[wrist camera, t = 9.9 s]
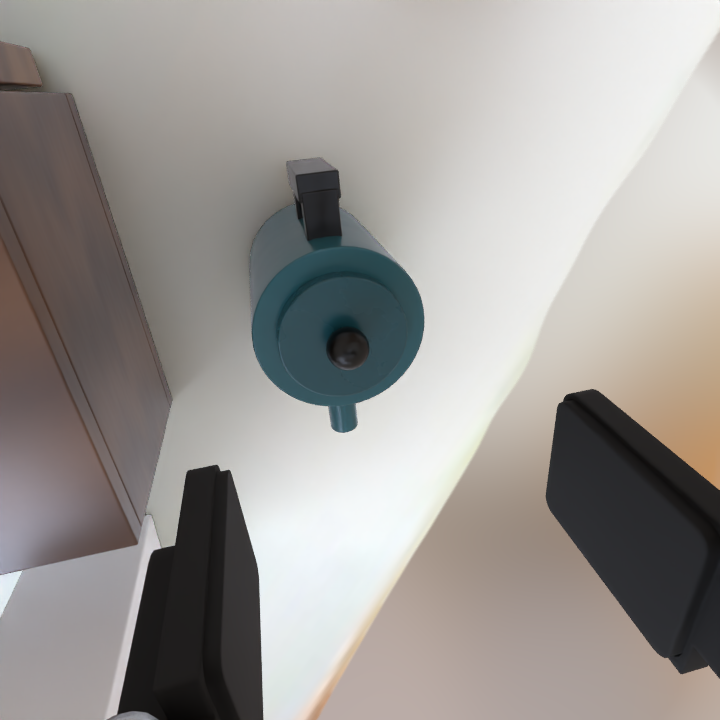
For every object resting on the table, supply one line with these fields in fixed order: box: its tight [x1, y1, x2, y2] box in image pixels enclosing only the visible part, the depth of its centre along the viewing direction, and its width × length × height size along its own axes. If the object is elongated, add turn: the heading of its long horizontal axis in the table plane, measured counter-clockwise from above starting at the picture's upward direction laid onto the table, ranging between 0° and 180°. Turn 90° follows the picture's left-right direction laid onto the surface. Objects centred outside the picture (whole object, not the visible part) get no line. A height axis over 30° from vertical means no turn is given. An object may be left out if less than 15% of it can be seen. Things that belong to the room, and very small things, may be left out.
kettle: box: [250, 158, 424, 433], centre depth 20 cm, size 11×6×10 cm, turn 6°
